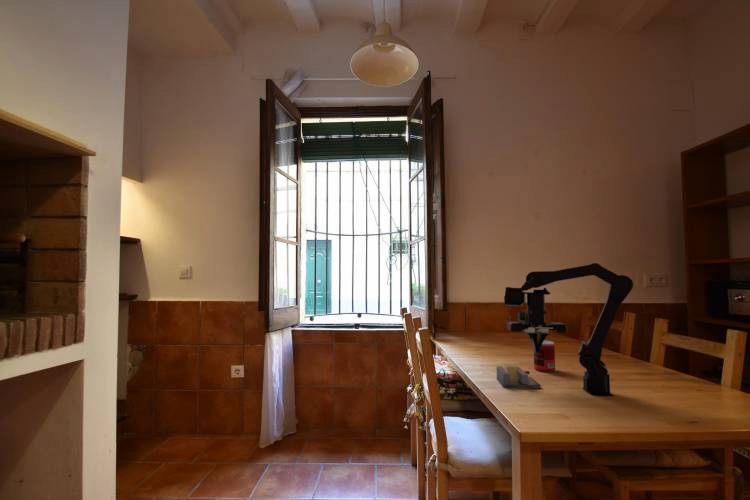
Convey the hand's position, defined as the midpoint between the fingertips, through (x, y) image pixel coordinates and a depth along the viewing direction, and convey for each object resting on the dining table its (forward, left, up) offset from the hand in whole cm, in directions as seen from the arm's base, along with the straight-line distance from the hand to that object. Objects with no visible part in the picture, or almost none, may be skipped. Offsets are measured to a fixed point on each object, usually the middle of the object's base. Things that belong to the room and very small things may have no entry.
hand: (536, 352), depth 127 cm
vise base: (+7, 0, -11) cm, 13 cm away
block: (+9, 0, -10) cm, 13 cm away
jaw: (+4, 0, -9) cm, 10 cm away
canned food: (-9, -20, -11) cm, 25 cm away
